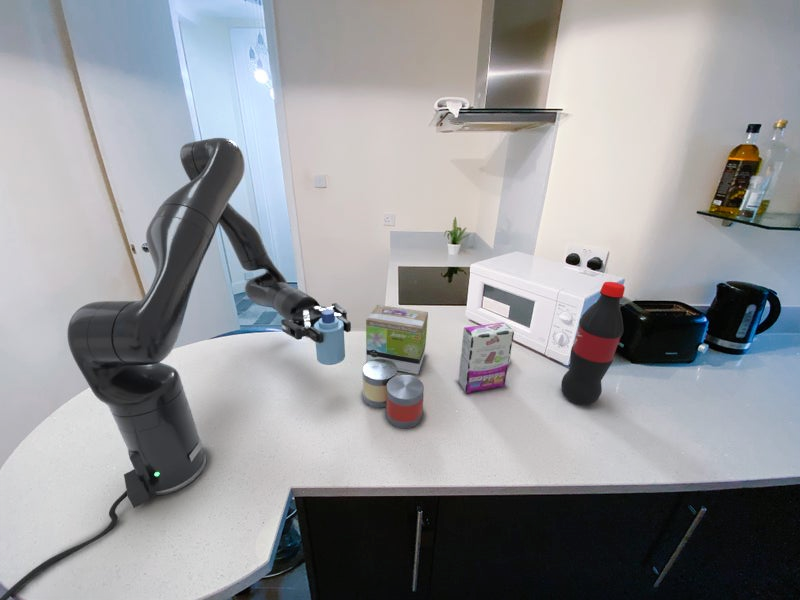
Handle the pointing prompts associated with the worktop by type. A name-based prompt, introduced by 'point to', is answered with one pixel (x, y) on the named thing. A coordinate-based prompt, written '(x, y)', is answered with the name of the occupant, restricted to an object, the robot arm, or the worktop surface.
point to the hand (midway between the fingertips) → (335, 333)
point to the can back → (377, 381)
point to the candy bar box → (485, 356)
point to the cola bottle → (594, 346)
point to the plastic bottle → (330, 338)
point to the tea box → (397, 337)
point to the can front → (404, 401)
